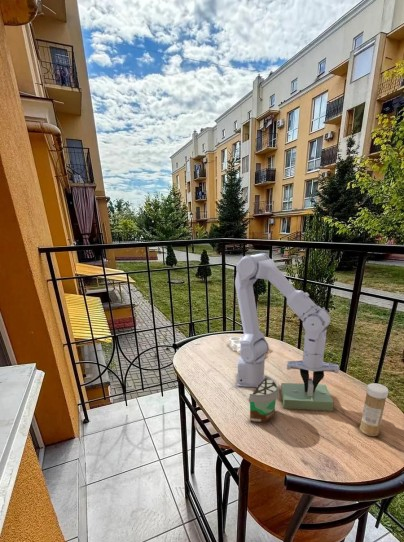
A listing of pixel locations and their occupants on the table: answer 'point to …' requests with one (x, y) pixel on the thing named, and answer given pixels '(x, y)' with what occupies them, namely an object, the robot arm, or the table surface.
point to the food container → (263, 401)
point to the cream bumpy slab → (235, 343)
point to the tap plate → (306, 397)
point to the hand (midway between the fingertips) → (309, 390)
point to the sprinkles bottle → (373, 409)
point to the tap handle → (310, 387)
